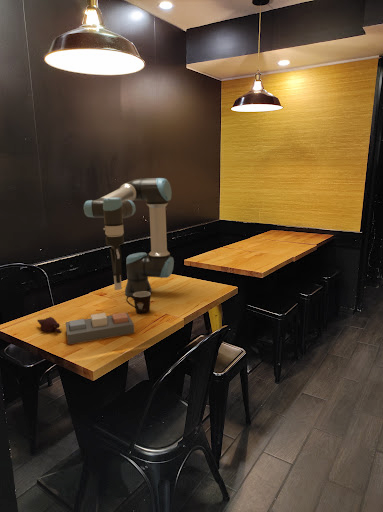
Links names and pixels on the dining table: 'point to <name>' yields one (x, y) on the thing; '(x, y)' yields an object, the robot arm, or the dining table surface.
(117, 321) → the terracotta key
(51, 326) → the dark brown irregular piece
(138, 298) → the coffee mug
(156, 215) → the robot arm
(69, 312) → the dining table surface
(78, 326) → the slate key
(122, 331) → the key panel
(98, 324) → the white key
